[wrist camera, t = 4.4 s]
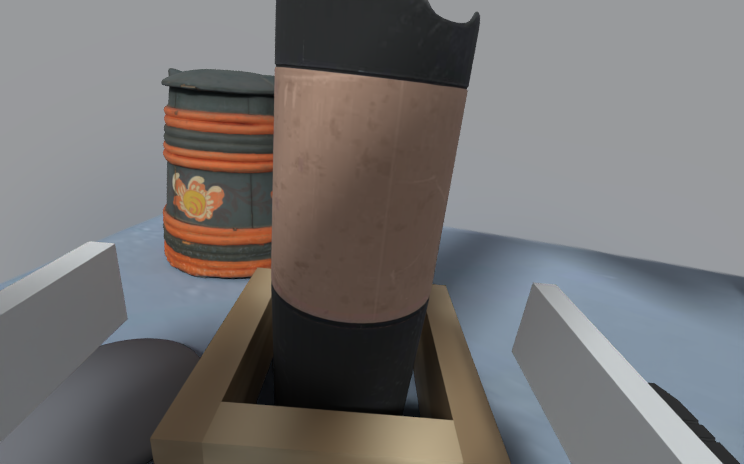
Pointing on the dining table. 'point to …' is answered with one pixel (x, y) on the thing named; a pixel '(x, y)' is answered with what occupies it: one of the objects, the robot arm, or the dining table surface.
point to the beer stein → (219, 172)
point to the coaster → (104, 407)
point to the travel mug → (359, 192)
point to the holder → (325, 427)
